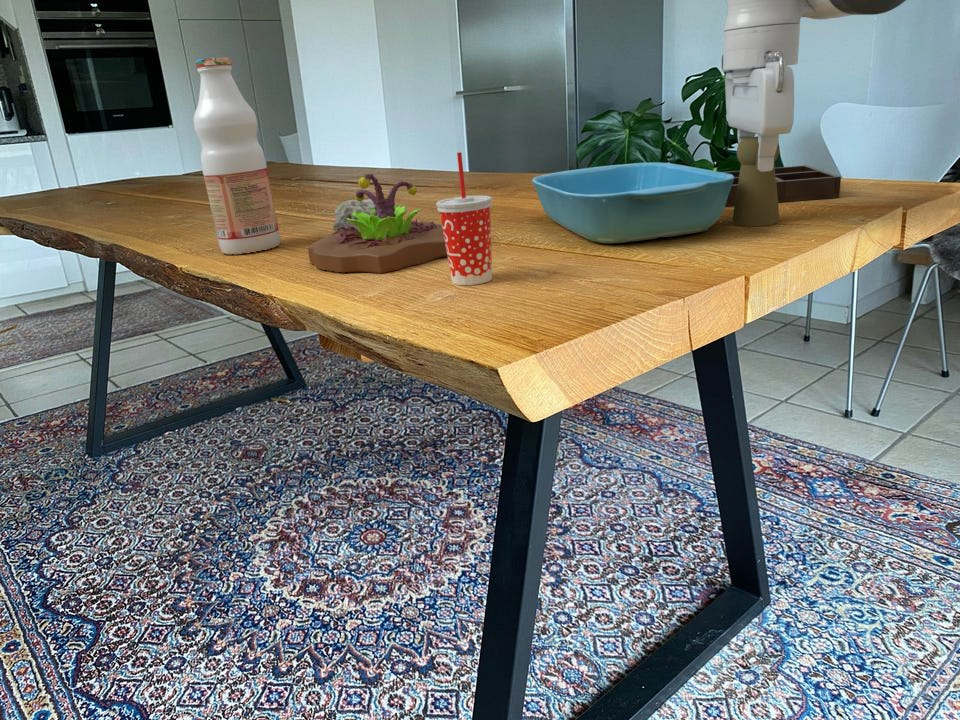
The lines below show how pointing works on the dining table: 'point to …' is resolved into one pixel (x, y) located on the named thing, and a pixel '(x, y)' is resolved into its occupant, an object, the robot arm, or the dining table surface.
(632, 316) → the dining table surface
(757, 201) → the cork
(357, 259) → the plant
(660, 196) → the casserole dish
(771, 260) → the dining table surface
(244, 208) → the fruit juice
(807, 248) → the dining table surface
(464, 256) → the beverage cup
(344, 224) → the decorative stone
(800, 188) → the compartment tray
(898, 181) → the dining table surface
